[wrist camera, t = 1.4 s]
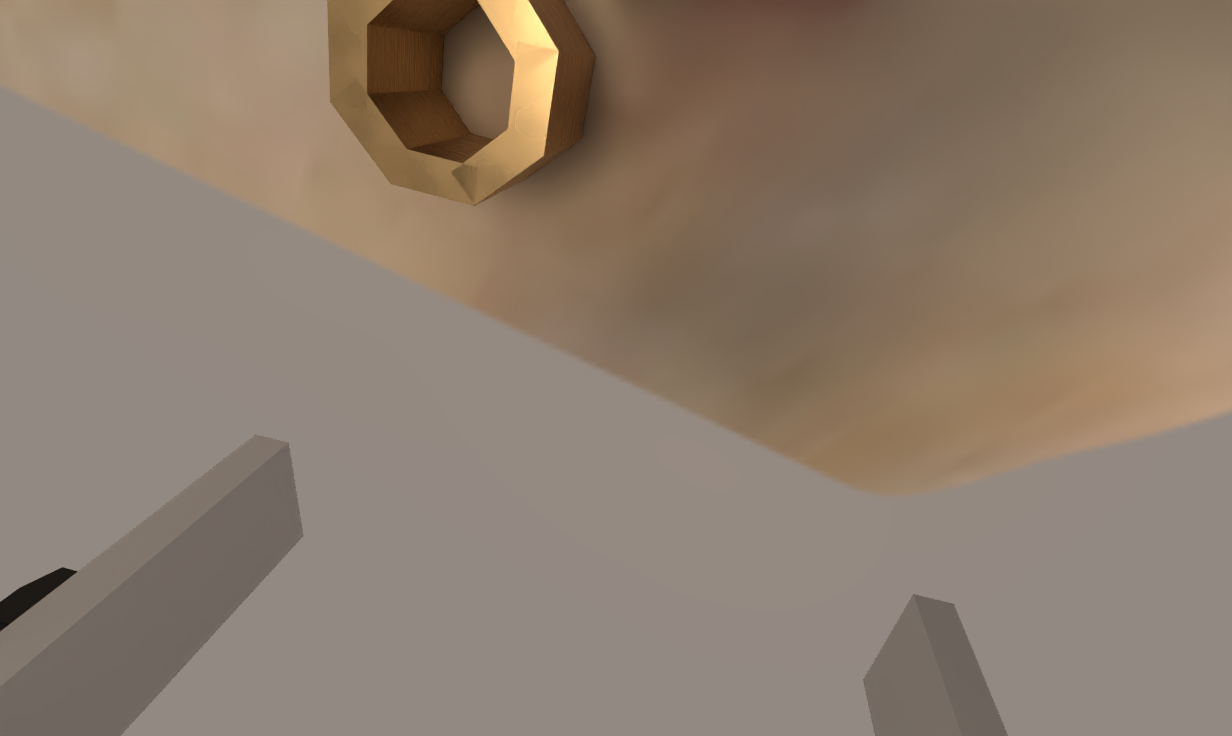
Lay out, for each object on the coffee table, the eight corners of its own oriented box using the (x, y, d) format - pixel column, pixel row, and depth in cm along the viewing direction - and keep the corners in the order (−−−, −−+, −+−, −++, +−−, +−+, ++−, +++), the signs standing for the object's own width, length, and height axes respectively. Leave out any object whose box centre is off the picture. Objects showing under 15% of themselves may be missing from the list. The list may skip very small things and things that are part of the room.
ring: (415, -55, 23) (324, -93, 18) (606, -10, 23) (571, -35, 18) (408, 150, 27) (332, 168, 22) (572, 191, 27) (534, 221, 21)
